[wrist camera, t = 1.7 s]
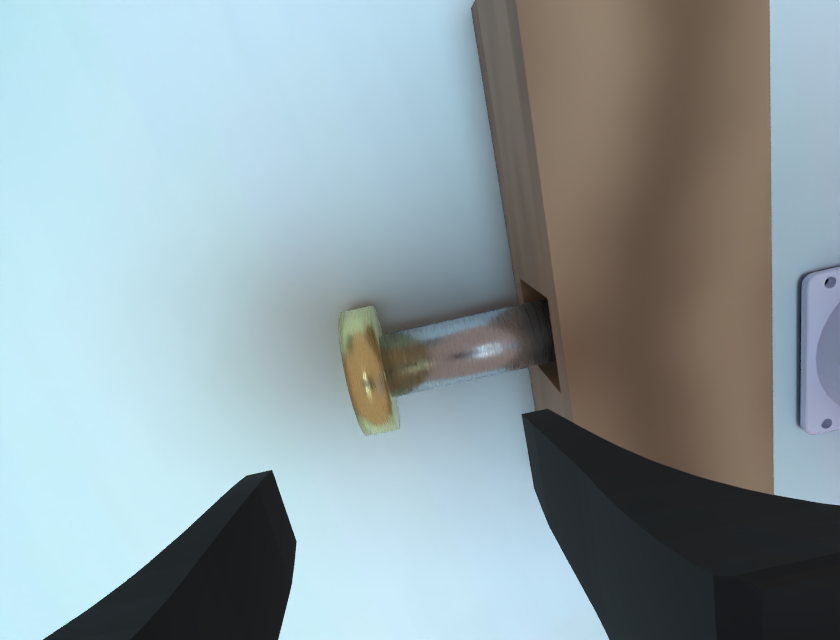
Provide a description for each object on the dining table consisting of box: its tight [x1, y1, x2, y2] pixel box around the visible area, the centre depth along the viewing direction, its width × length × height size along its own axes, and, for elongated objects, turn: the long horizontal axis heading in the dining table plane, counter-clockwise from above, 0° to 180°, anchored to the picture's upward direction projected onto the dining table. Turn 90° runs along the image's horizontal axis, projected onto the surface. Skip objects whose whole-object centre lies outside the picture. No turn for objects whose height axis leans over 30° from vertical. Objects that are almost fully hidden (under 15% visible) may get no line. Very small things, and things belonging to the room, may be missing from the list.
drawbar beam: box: [471, 0, 774, 495], centre depth 18 cm, size 7×20×6 cm, turn 12°
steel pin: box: [339, 298, 556, 436], centre depth 19 cm, size 9×5×5 cm, turn 102°
